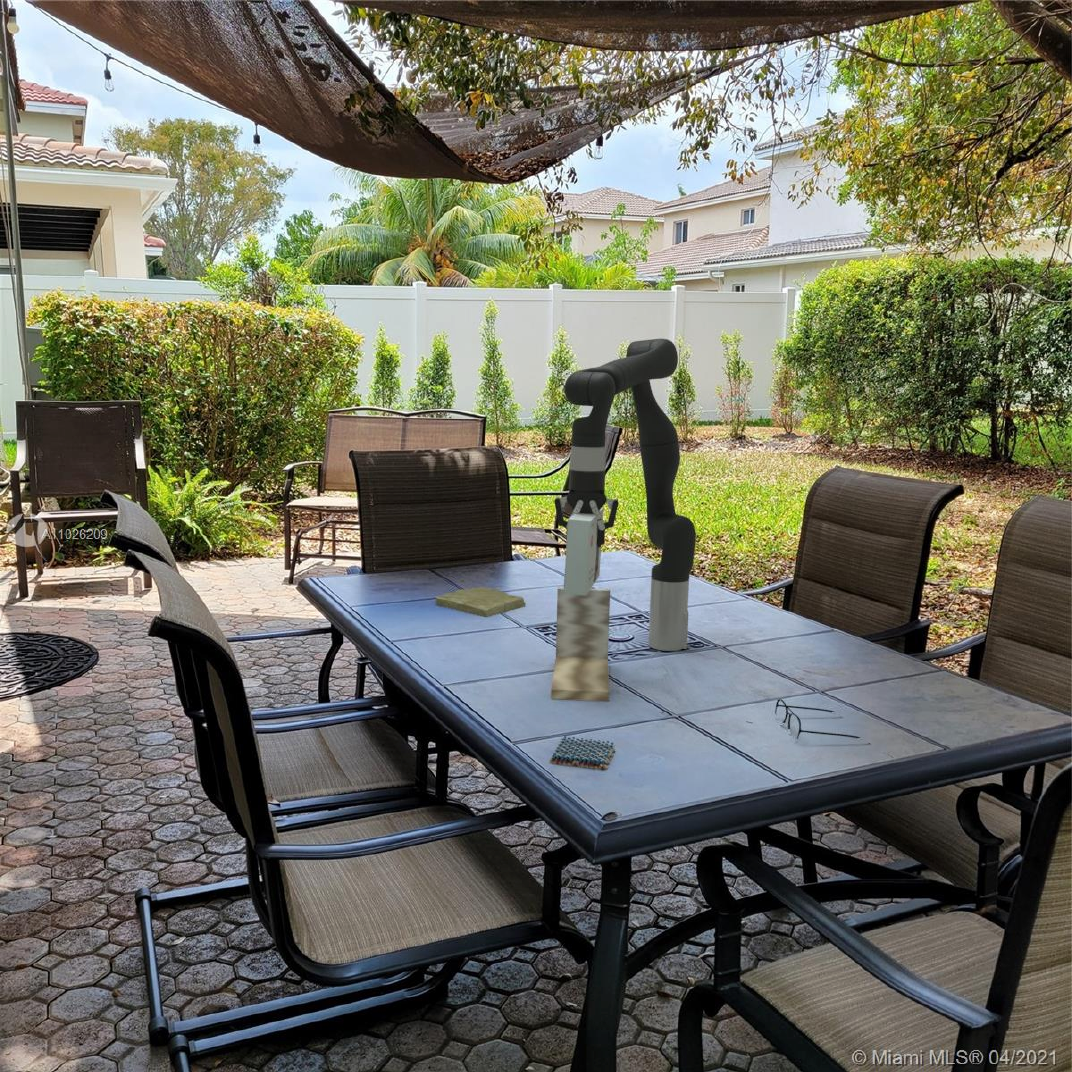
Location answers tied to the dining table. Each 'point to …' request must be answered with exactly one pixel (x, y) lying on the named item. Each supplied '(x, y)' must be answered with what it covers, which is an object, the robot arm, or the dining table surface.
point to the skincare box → (582, 554)
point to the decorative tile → (481, 601)
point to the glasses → (800, 721)
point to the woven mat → (583, 753)
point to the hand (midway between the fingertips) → (585, 546)
